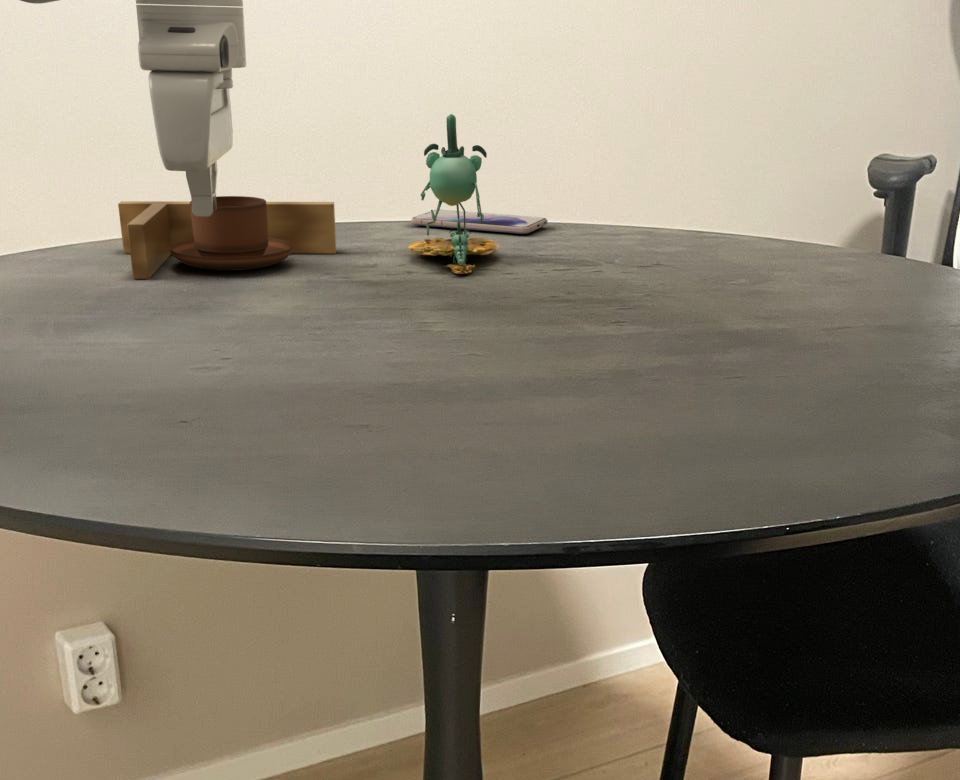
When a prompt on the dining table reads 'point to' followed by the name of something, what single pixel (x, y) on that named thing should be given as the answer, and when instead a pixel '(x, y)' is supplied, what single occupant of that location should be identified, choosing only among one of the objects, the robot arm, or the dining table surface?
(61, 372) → the dining table surface
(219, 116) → the robot arm
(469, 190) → the green cartoon figurine
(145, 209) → the corner stop
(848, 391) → the dining table surface
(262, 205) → the cup and saucer
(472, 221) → the smartphone
